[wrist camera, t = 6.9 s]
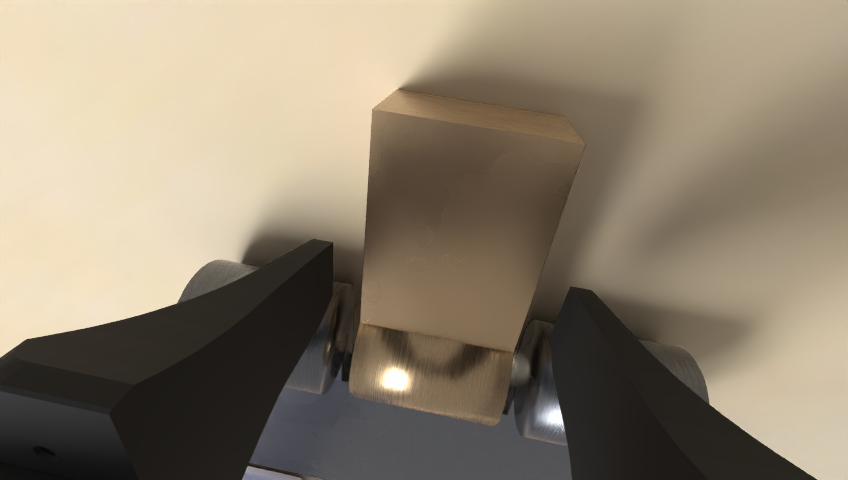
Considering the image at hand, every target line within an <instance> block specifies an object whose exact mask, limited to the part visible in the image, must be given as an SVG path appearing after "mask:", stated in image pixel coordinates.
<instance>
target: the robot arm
mask: <svg viewBox="0 0 848 480" xmlns="http://www.w3.org/2000/svg"><path fill="white" fill-rule="evenodd" d="M332 296H333V243H332V242H327V241H321V240H316V239H313V240H311V241H309V242H307V243H305V244H303V245H301V246H300V247H298V248H296V249H294V250H293V251H291V252H289V253H287V254H286V255H284V256H282V257H280V258H278V259H277V260H275V261H273V262H271V263H269V264H267V265H266V266H264V267H262V268H260V269H258V270H256V271H254V272H252V273H250V274H248V275H246V276H244V277H242V278H240V279H238V280H236V281H233V282H231V283H229V284H227V285H225V286H222V287H220V288H218V289H215V290H213V291H210V292H208V293H205V294H203V295H200V296H198V297H195V298H192V299H190V300H187V301H184V302H181V303H177V304H174V305H171V306H168V307H165V308H162V309H159V310H156V311H153V312H149V313H146V314H142V315H139V316H135V317H131V318H128V319H124V320H120V321H116V322H111V323H107V324H103V325H99V326H94V327H90V328H85V329H80V330H75V331H69V332H64V333H59V334H54V335H48V336H43V337H37V338H31V339H26V340H25V341H23V342H22V343H21V344H19V345H18V346H16V347H15V348H13V349H12V350H11V351H9V352H8V353H6V354H5V355H4V356H2V357H1V358H0V480H302V479H301V478H299V477H296V476H291V475H287V474H282V473H278V472H273V471H269V470H264V469H260V468H255V467H251V466H248V464H249V462H250V459H251V457H252V455H253V453H254V450H255V448H256V446H257V443H258V441H259V439H260V436H261V434H262V432H263V430H264V427H265V425H266V423H267V421H268V419H269V416H270V414H271V412H272V410H273V408H274V406H275V403H276V401H277V399H278V397H279V395H280V393H281V391H282V389H283V387H284V386H285V384H286V382H287V380H288V378H289V377H290V375H291V373H292V372H293V370H294V368H295V367H296V365H297V363H298V362H299V360H300V358H301V356H302V355H303V353H304V351H305V350H306V348H307V346H308V345H309V343H310V341H311V340H312V338H313V336H314V334H315V333H316V331H317V329H318V327H319V326H320V324H321V322H322V320H323V317H324V315H325V313H326V311H327V308H328V306H329V303H330V301H331V298H332ZM550 346H551V361H552V371H553V376H554V381H555V386H556V391H557V396H558V400H559V405H560V410H561V415H562V420H563V424H564V429H565V434H566V439H567V444H568V450H569V456H570V465H571V475H572V480H817V479H816V478H814V477H812V476H811V475H809V474H808V473H806V472H804V471H803V470H801V469H800V468H798V467H797V466H795V465H794V464H792V463H791V462H789V461H788V460H786V459H785V458H783V457H781V456H780V455H778V454H777V453H775V452H774V451H772V450H771V449H769V448H768V447H767V446H765V445H764V444H762V443H761V442H759V441H758V440H756V439H755V438H753V437H752V436H751V435H749V434H748V433H746V432H745V431H744V430H742V429H741V428H740V427H738V426H737V425H736V424H734V423H733V422H732V421H730V420H729V419H727V418H726V417H725V416H723V415H722V414H721V413H719V412H718V411H717V410H716V409H714V408H713V407H712V406H710V405H709V404H708V403H707V402H705V401H704V400H703V399H702V398H701V397H699V396H698V395H697V394H696V393H695V392H693V391H692V390H691V389H690V388H689V387H688V386H686V385H685V384H684V383H683V382H682V381H680V380H679V379H678V378H677V377H676V376H675V375H674V374H673V373H671V372H670V371H669V370H668V369H667V368H666V367H665V366H664V365H663V364H662V363H661V362H660V361H659V360H658V359H657V358H656V357H655V356H654V355H653V354H651V353H650V352H649V351H648V350H647V349H646V348H645V347H644V346H643V345H642V343H641V342H640V341H639V340H638V339H637V338H636V337H635V336H634V335H633V334H632V333H631V332H630V331H629V330H628V329H627V328H626V327H625V326H624V325H623V323H622V322H621V321H620V320H619V319H618V318H617V317H616V316H615V315H614V314H613V313H612V311H611V310H610V309H609V308H608V307H607V306H606V305H605V304H604V303H603V302H602V301H601V300H600V299H599V297H598V296H597V295H596V294H595V293H593V292H592V291H591V290H586V289H581V288H576V287H570V289H569V291H568V294H567V296H566V299H565V301H564V304H563V306H562V309H561V311H560V314H559V316H558V319H557V321H556V324H555V326H554V329H553V331H552V334H551V336H550Z"/></svg>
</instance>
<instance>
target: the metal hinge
mask: <svg viewBox="0 0 848 480" xmlns="http://www.w3.org/2000/svg"><path fill="white" fill-rule="evenodd" d="M260 268H262V267H258V266H253V265H247V264H242V263H237V262H232V261H226V260H215V261H212V262H210V263H208V264H206V265H205V266H204V267H202V268H201V269H200V270H199V271H198V272H197V273H196V274H195V275H194V276H193V277H192V279H191V280H190V281H189V283H188V284H187V286H186V288H185V289H184V291H183V293H182V295H181V297H180V299H179V301H178V303H181V302H184V301H187V300H190V299H192V298H195V297H198V296H200V295H203V294H205V293H208V292H210V291H213V290H215V289H218V288H220V287H222V286H225V285H227V284H229V283H231V282H233V281H236V280H238V279H240V278H242V277H244V276H246V275H248V274H250V273H252V272H254V271H256V270H258V269H260ZM353 322H354V290H353V287H352V285H351V284H347V283H342V282H336V281H333V296H332V298H331V301H330V303H329V306H328V308H327V311H326V313H325V315H324V317H323V320H322V322H321V324H320V326H319V327H318V329H317V331H316V333H315V334H314V336H313V338H312V340H311V341H310V343H309V345H308V346H307V348H306V350H305V351H304V353H303V355H302V356H301V358H300V360H299V362H298V363H297V365H296V367H295V368H294V370H293V372H292V373H291V375H290V377H289V378H288V380H287V382H286V384H285V386H284V387H283V389H282V391H281V393H280V395H279V397H278V399H277V401H276V403H275V406H274V408H273V410H272V412H271V414H270V416H269V419H268V421H267V423H266V425H265V427H264V430H263V432H262V434H261V436H260V439H259V441H258V443H257V446H256V448H255V450H254V453H253V455H252V457H251V459H250V462H249V463H253V464H257V465H262V466H266V467H271V468H275V469H280V470H284V471H288V472H293V473H297V474H302V475H306V476H311V477H315V478H320V479H324V480H572V475H571V465H570V456H569V450H568V444H567V439H566V434H565V429H564V424H563V420H562V415H561V410H560V405H559V400H558V396H557V391H556V386H555V381H554V376H553V371H552V361H551V346H550V336H551V334H552V331H553V329H554V326H555V324H556V323H551V322H546V321H540V320H532V321H531V322H530V323H529V325H528V326H527V328H526V331H525V333H524V336H523V338H522V341H521V344H520V347H519V350H518V353H517V356H516V358H515V361H514V364H513V367H512V372H511V379H510V384H509V390H508V395H507V399H506V403H505V407H504V410H503V413H502V416H501V418H500V420H499V422H498V424H497V425H496V426H489V425H484V424H480V423H475V422H470V421H466V420H461V419H456V418H451V417H447V416H442V415H437V414H432V413H428V412H423V411H418V410H414V409H409V408H404V407H399V406H395V405H390V404H385V403H381V402H376V401H371V400H366V399H362V398H357V397H352V396H350V393H349V377H350V368H351V361H352V355H353V354H352V345H353ZM638 340H639V341H640V342H641V343H642V345H643V346H644V347H645V348H646V349H647V350H648V351H649V352H650V353H651V354H653V355H654V356H655V357H656V358H657V359H658V360H659V361H660V362H661V363H662V364H663V365H664V366H665V367H666V368H667V369H668V370H669V371H670V372H671V373H673V374H674V375H675V376H676V377H677V378H678V379H679V380H680V381H682V382H683V383H684V384H685V385H686V386H688V387H689V388H690V389H691V390H692V391H693V392H695V393H696V394H697V395H698V396H699V397H701V398H702V399H703V400H704V401H705V402H707V403H708V404H709V398H708V392H707V387H706V384H705V380H704V378H703V375H702V373H701V370H700V369H699V367H698V365H697V363H696V362H695V360H694V359H693V358H692V357H691V355H690V354H689V353H687V352H686V351H685V350H683V349H681V348H679V347H676V346H671V345H666V344H661V343H656V342H650V341H645V340H640V339H638Z"/></svg>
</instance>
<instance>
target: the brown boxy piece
mask: <svg viewBox="0 0 848 480" xmlns="http://www.w3.org/2000/svg"><path fill="white" fill-rule="evenodd" d="M585 145H586V144H585V143H584V142H583V140H582V139H581V138H580V136H579V135H578V134H577V132H576V131H575V130H574V128H573V127H572V126H571V124H570V123H569V122H568V121H567V119H566V118H565V117H564V116H559V115H553V114H547V113H541V112H534V111H528V110H522V109H516V108H510V107H504V106H497V105H491V104H485V103H479V102H473V101H466V100H460V99H454V98H448V97H442V96H436V95H429V94H423V93H417V92H411V91H405V90H398V89H397V90H396V91H395V92H393V93H392V94H391V95H390V96H388V97H387V98H386V99H385V100H383V101H382V102H381V103H379V104H378V105H377V106H376V107H374V108H373V109H372V124H371V142H370V159H369V176H368V194H367V211H366V228H365V246H364V263H363V281H362V298H361V315H360V325H359V328H358V332H357V336H356V341H355V345H354V350H353V355H352V361H351V368H350V377H349V393H350V396H352V397H357V398H362V399H366V400H371V401H376V402H381V403H385V404H390V405H395V406H399V407H404V408H409V409H414V410H418V411H423V412H428V413H432V414H437V415H442V416H447V417H451V418H456V419H461V420H466V421H470V422H475V423H480V424H484V425H489V426H496V425H497V424H498V422H499V420H500V418H501V416H502V413H503V410H504V407H505V403H506V399H507V395H508V390H509V384H510V379H511V372H512V363H513V353H514V350H515V347H516V344H517V341H518V339H519V336H520V333H521V330H522V327H523V324H524V321H525V318H526V315H527V313H528V310H529V307H530V304H531V301H532V298H533V295H534V292H535V289H536V287H537V284H538V281H539V278H540V275H541V272H542V269H543V266H544V263H545V261H546V258H547V255H548V252H549V249H550V246H551V243H552V240H553V237H554V235H555V232H556V229H557V226H558V223H559V220H560V217H561V214H562V211H563V208H564V206H565V203H566V200H567V197H568V194H569V191H570V188H571V185H572V182H573V180H574V177H575V174H576V171H577V168H578V165H579V162H580V159H581V156H582V154H583V151H584V148H585Z"/></svg>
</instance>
